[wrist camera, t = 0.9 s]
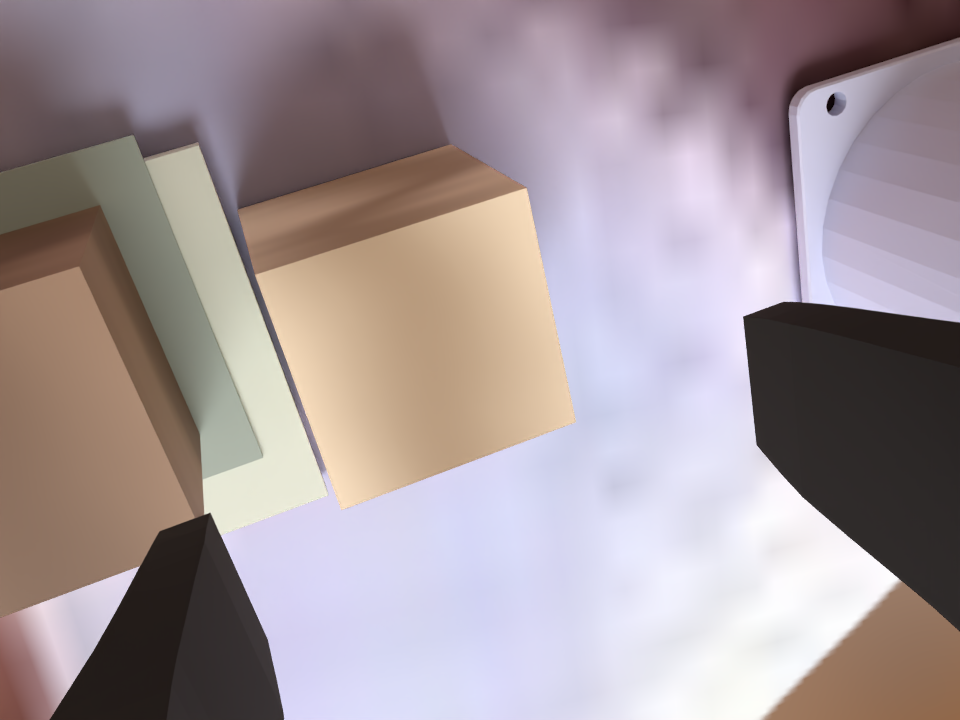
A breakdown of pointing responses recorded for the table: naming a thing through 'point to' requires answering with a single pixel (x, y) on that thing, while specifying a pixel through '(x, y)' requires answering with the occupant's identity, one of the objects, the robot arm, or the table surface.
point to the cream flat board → (189, 313)
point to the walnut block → (83, 415)
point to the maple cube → (411, 317)
